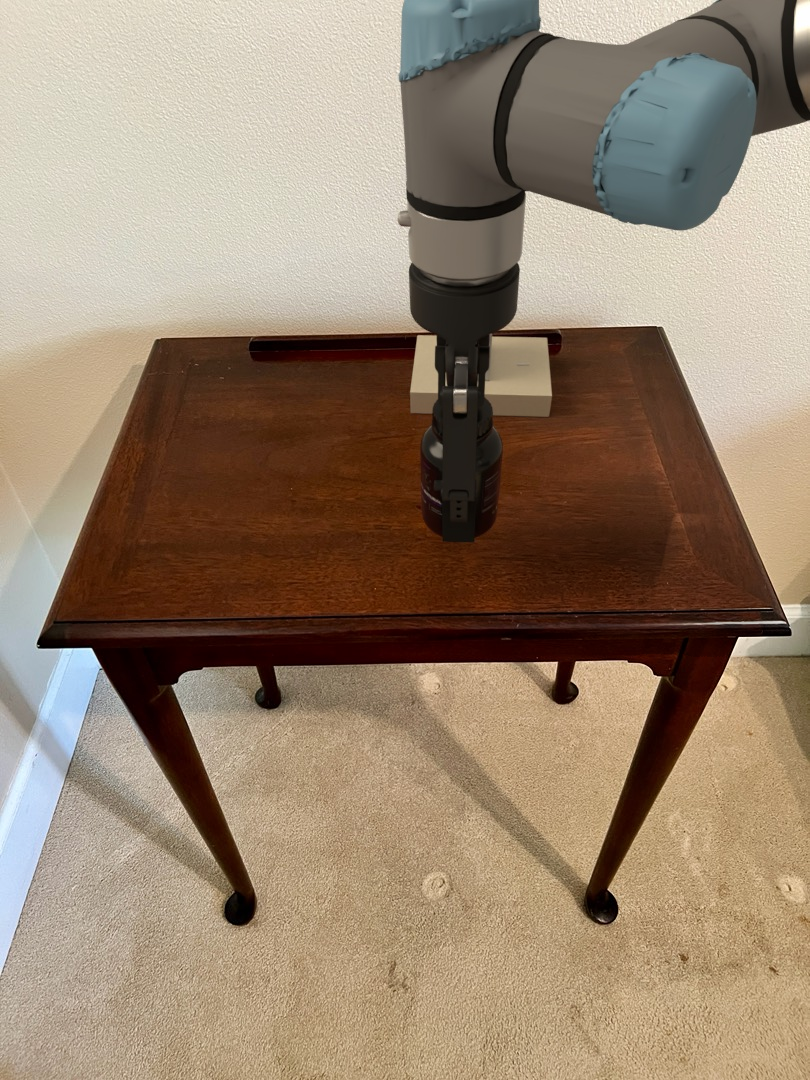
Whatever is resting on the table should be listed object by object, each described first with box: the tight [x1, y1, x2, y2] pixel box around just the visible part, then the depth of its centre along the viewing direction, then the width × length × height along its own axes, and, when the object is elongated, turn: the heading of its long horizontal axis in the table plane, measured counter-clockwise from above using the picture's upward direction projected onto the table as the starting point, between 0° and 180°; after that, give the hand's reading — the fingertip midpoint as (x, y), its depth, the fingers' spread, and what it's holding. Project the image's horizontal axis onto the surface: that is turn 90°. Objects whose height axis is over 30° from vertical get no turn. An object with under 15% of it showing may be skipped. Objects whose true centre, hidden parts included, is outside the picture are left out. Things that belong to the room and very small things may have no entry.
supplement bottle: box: [419, 397, 504, 539], centre depth 64 cm, size 7×7×12 cm
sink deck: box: [409, 334, 553, 418], centre depth 91 cm, size 16×12×3 cm
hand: (459, 508), depth 68 cm, fingers closed on supplement bottle, 7 cm apart
